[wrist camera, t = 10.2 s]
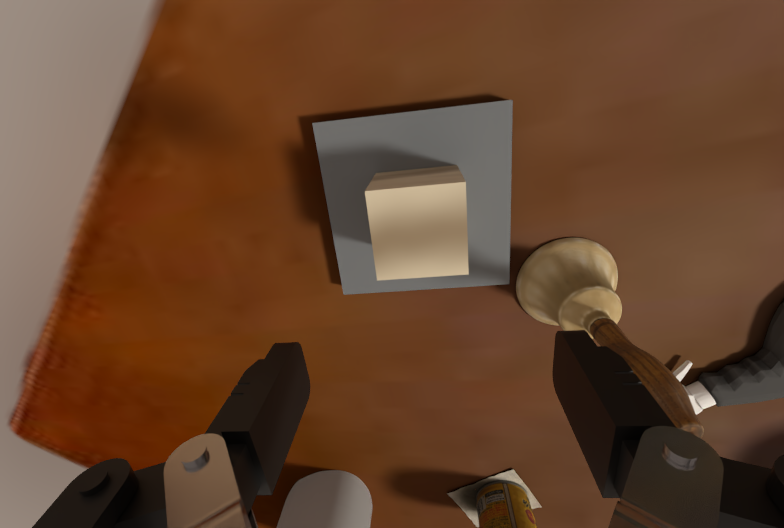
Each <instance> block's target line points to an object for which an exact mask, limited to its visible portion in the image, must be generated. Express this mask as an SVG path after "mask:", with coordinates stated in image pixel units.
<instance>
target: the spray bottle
mask: <svg viewBox="0 0 784 528" xmlns="http://www.w3.org/2000/svg"><path fill="white" fill-rule="evenodd" d="M692 364H693V363H692V362H691V361H689V360H687V361H686V362H684V363H683V364H682V365H681V366H680V367H679V368H678V369H677V370H676V371H674V372H673V374H674V376H675V377H676V378H677V379H678V380H679V381H681V380H682V379H683V377H684V376H685V375H686V373H687V372H688V370H689V369H690V367H691V365H692ZM682 386H683V387H684V389H685V390H686V392H687V394H688V396H689V398H690V401H691V404H692V406H693V409H694V411H695V414H698V413H700V412H701V411H702V409H705V408H707V407H710V406H712V405H715V404H716V405H717V406H727V405H737V404H746V403H755V402H761V401H767V400H773V399H778V398H784V300H783V302H782V303H781V304H780V306H779V307H778V309H777V311H776V313H775V314H774V316H773V318H772V320H771V322H770V325H769V328H768V331H767V334H766V337H765V340H764V344H763V347H762V349H761V350H760V351H759V352H758V353H757V354H756V355H754V356H750V357H747V358H744V359H743V360H742V361H741V362H739V363H738V364H732V365H726V366H725V367H723V368H722V369H721V370H719V371H718V372H717V373H702V374H701V375H700V376H699V380H698V381H697V382H694V383H692V384H690V385H688V386H684V385H682Z"/></svg>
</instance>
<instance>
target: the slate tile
mask: <svg viewBox="0 0 784 528" xmlns="http://www.w3.org/2000/svg"><path fill="white" fill-rule="evenodd" d="M512 104H513V100H501V101H492V102H484V103H475V104H467V105H458V106H449V107H441V108H432V109H424V110H415V111H407V112H398V113H390V114H381V115H373V116H364V117H355V118H347V119H338V120H330V121H321V122H315V123H312V125H313V130H314V136H315V141H316V147H317V152H318V158H319V163H320V168H321V174H322V179H323V185H324V190H325V196H326V201H327V207H328V212H329V218H330V223H331V228H332V234H333V239H334V245H335V250H336V256H337V261H338V267H339V272H340V277H341V283H342V288H343V294H344V295H345V294H361V293H377V292H392V291H408V290H424V289H440V288H456V287H471V286H487V285H503V284H509V279H510V220H511V162H512ZM452 165H457V166H458V168H459V170H460V172H461V173H462V175H463V177H464V179H465V181H466V202H467V235H468V268H469V275H453V276H438V277H423V278H408V279H393V280H378V281H377V276H376V269H375V262H374V255H373V248H372V240H371V233H370V226H369V219H368V212H367V205H366V197H365V190H366V188H367V187H368V185H369V183H370V182H371V180H372V179H373V177H374V175H375V174H376V173H381V172H392V171H402V170H412V169H422V168H432V167H442V166H452Z"/></svg>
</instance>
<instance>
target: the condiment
mask: <svg viewBox="0 0 784 528" xmlns="http://www.w3.org/2000/svg"><path fill="white" fill-rule="evenodd" d="M475 489H476V490H475ZM448 495H449V496H450V497H451V498H452V499H453V500H454V501H455V502H456V504H457V505H459V507H460V508H461V509H462V510H463V511H464V512H465V513H466V515H467V516H468V517H469V518H470V519H471V520H472V522H473V523H474V524H475V525H476V527H479V528H537V527H536V523H535V518H534V515H533V512H532V509H534V508H538V507H541V505H540V504H539V503H538V501H537V500H536V498H535V497H534V496H533V494H532V493H531V492H530V490H529V489H528V488H527V486H526V485H525V484H524V482H523V481H522V480H521V478H519V476H518V475H517V474H516V472H515V471H514V469H513V470H510V471H507V472H504V473H500V474H497V475H496V476H491V477H488V478H487V479H483V480H481V481H479V482H477V483H475V484H473V485H468V486H466V487H463V488H460V489H458V490H456V491H454V492H451V493H448Z"/></svg>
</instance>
